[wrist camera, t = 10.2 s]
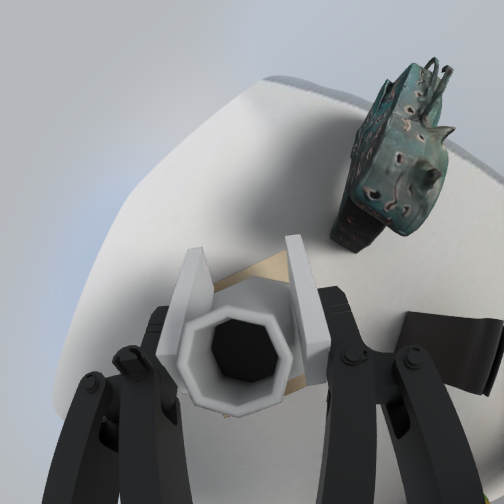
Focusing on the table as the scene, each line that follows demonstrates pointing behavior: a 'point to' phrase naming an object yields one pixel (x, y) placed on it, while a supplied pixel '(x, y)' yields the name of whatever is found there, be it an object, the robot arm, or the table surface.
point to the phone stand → (458, 348)
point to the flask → (242, 348)
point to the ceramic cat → (396, 160)
